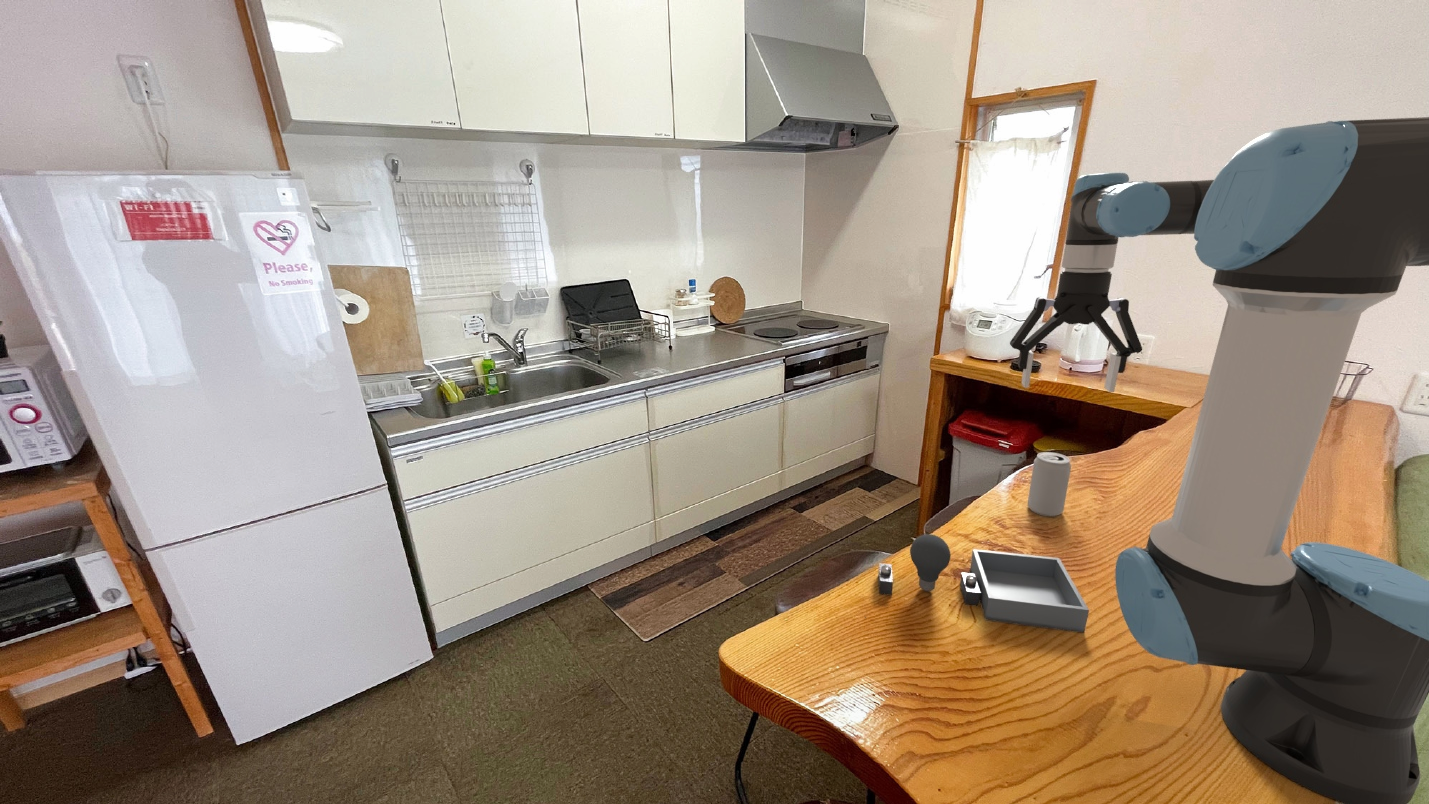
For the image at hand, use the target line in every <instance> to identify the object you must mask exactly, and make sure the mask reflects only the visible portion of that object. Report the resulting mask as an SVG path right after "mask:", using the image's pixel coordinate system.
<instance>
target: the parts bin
mask: <svg viewBox="0 0 1429 804" xmlns="http://www.w3.org/2000/svg"><path fill="white" fill-rule="evenodd" d="M969 569H970V573H971V574H975V576H976V578H977V583H978V586H979V589H980V592H981V594H980V602H979V604H980V606H981V609H982V613H983V616H984V619H985V621H990V622H998V623H1006V624H1012V625H1013V624H1014V625H1020V626H1029V627H1037V628H1041V629H1042V628H1043V629H1051V630H1056V631H1057V630H1059V631H1068V632H1074V633H1080V634H1085V632H1086V627H1087V622H1088V618H1089V612H1090V609H1089V607H1088V606H1087V604H1086V602H1085V600H1084V599H1083V597H1082V595H1081V593H1080V591H1079V590H1078V588H1077V586H1076V584H1075V583H1074V581H1073V579H1072V578H1071V576H1070V574H1069V573H1068V571H1067V569H1066V568H1065V565H1064V564H1063V561H1062V559H1061V558H1060V557H1054V556H1053V557H1052V556H1043V555H1032V554H1023V553H1015V552H1014V553H1012V552H1003V551H997V550H995V551H994V550H985V549H975V548H972V552H971V559H970V566H969Z"/></svg>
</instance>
